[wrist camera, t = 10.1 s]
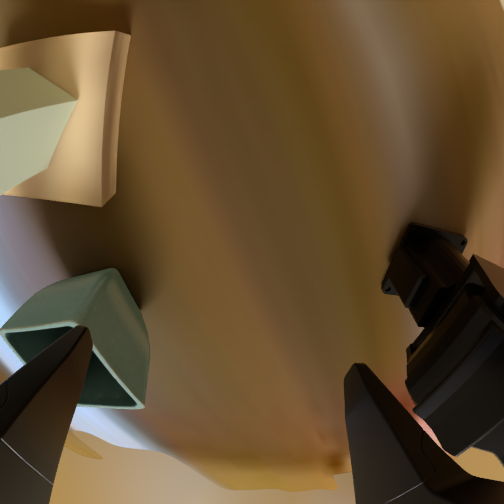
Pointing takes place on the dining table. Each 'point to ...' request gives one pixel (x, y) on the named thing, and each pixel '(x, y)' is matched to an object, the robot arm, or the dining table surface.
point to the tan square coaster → (78, 113)
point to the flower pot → (102, 333)
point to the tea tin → (29, 124)
